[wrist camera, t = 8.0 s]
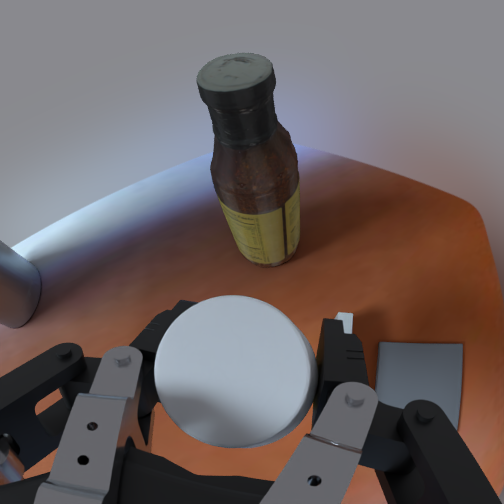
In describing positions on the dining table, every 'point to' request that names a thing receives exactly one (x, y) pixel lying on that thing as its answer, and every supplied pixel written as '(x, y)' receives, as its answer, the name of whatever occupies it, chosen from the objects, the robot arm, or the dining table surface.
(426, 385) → the coaster
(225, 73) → the sauce bottle
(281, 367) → the supplement bottle
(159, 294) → the dining table surface
